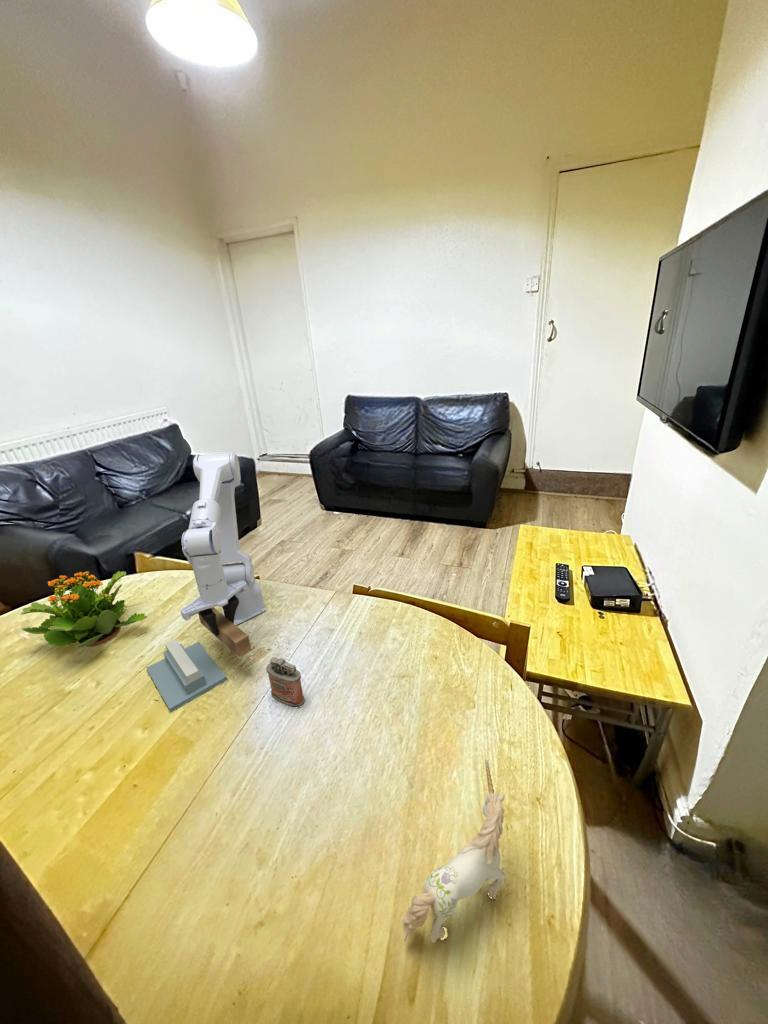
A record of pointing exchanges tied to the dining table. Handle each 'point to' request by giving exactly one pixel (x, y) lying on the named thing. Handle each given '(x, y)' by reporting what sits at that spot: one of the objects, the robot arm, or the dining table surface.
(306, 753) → the dining table surface
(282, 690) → the lighter
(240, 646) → the walnut bar
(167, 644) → the ridge stand
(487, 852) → the unicorn figurine
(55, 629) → the potted flower
